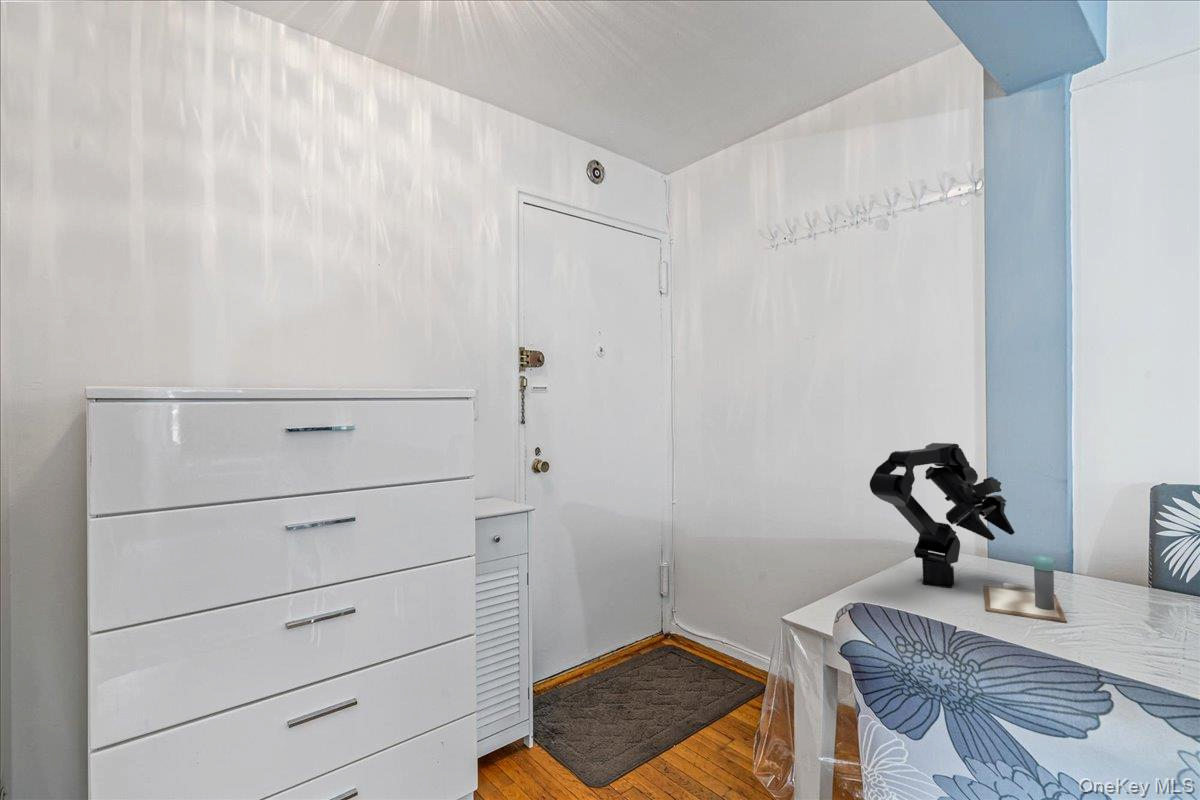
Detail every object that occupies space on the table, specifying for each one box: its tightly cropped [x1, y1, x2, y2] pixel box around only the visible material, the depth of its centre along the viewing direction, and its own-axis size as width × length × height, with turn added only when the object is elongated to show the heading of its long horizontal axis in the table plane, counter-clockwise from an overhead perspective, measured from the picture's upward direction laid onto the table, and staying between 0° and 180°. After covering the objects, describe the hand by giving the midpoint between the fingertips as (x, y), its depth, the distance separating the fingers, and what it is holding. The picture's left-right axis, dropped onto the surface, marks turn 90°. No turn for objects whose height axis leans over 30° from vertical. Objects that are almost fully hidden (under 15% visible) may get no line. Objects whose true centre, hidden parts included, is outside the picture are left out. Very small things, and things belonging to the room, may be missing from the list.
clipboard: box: [983, 582, 1068, 624], centre depth 127 cm, size 14×20×2 cm
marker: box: [1033, 555, 1055, 610], centre depth 122 cm, size 4×4×11 cm
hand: (1003, 536), depth 135 cm, fingers open, 9 cm apart
